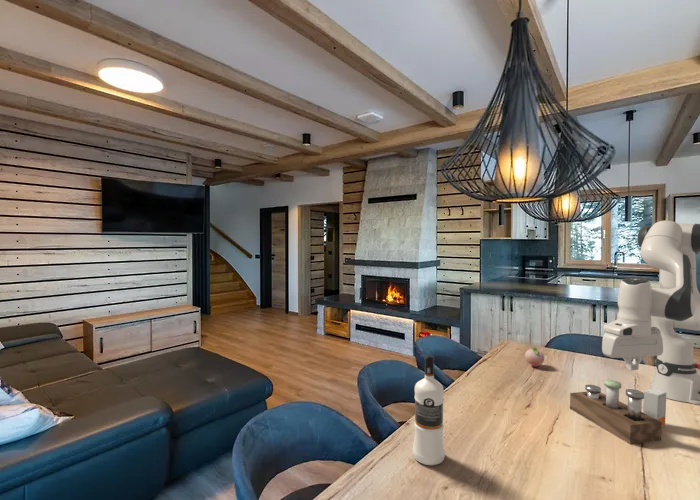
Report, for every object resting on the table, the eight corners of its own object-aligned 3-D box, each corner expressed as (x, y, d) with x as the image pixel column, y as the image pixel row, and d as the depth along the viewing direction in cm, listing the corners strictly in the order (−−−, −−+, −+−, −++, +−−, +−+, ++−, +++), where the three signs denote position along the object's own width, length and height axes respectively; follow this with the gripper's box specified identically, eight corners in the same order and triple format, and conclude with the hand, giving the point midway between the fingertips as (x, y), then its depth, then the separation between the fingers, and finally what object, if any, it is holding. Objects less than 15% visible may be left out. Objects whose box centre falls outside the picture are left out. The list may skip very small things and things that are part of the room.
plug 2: (633, 415, 121) (634, 388, 121) (647, 422, 116) (648, 394, 116) (621, 416, 120) (621, 389, 120) (634, 424, 115) (635, 395, 115)
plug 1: (592, 408, 137) (593, 384, 136) (603, 414, 132) (604, 389, 132) (581, 409, 136) (582, 385, 136) (592, 415, 131) (592, 390, 131)
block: (597, 405, 139) (597, 390, 139) (661, 440, 115) (661, 421, 115) (569, 408, 137) (570, 393, 137) (629, 444, 113) (630, 425, 113)
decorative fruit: (522, 363, 186) (522, 344, 186) (539, 364, 185) (539, 344, 185) (528, 369, 177) (528, 349, 177) (546, 370, 176) (546, 350, 176)
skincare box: (657, 430, 121) (658, 395, 121) (642, 424, 125) (643, 390, 125) (665, 426, 124) (667, 392, 124) (651, 420, 128) (652, 387, 127)
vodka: (446, 451, 109) (447, 353, 108) (442, 470, 100) (443, 363, 99) (415, 445, 112) (416, 349, 111) (409, 462, 104) (410, 359, 103)
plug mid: (611, 404, 129) (612, 379, 128) (624, 411, 124) (625, 384, 124) (600, 405, 128) (600, 380, 128) (612, 412, 123) (613, 385, 123)
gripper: (650, 324, 123) (649, 364, 123) (598, 326, 119) (597, 367, 120) (670, 328, 117) (668, 371, 117) (616, 330, 113) (614, 374, 113)
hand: (632, 369), depth 118 cm, fingers closed
